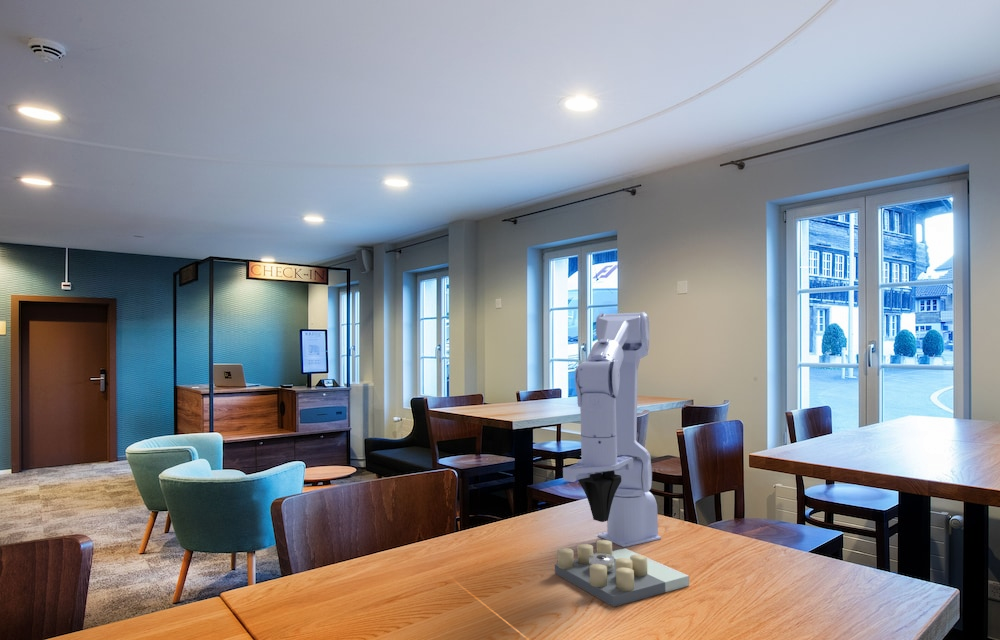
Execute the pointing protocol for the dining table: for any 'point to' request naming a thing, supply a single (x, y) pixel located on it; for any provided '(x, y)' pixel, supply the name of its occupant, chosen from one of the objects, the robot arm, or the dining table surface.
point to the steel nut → (602, 561)
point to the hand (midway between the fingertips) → (600, 520)
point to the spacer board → (613, 594)
